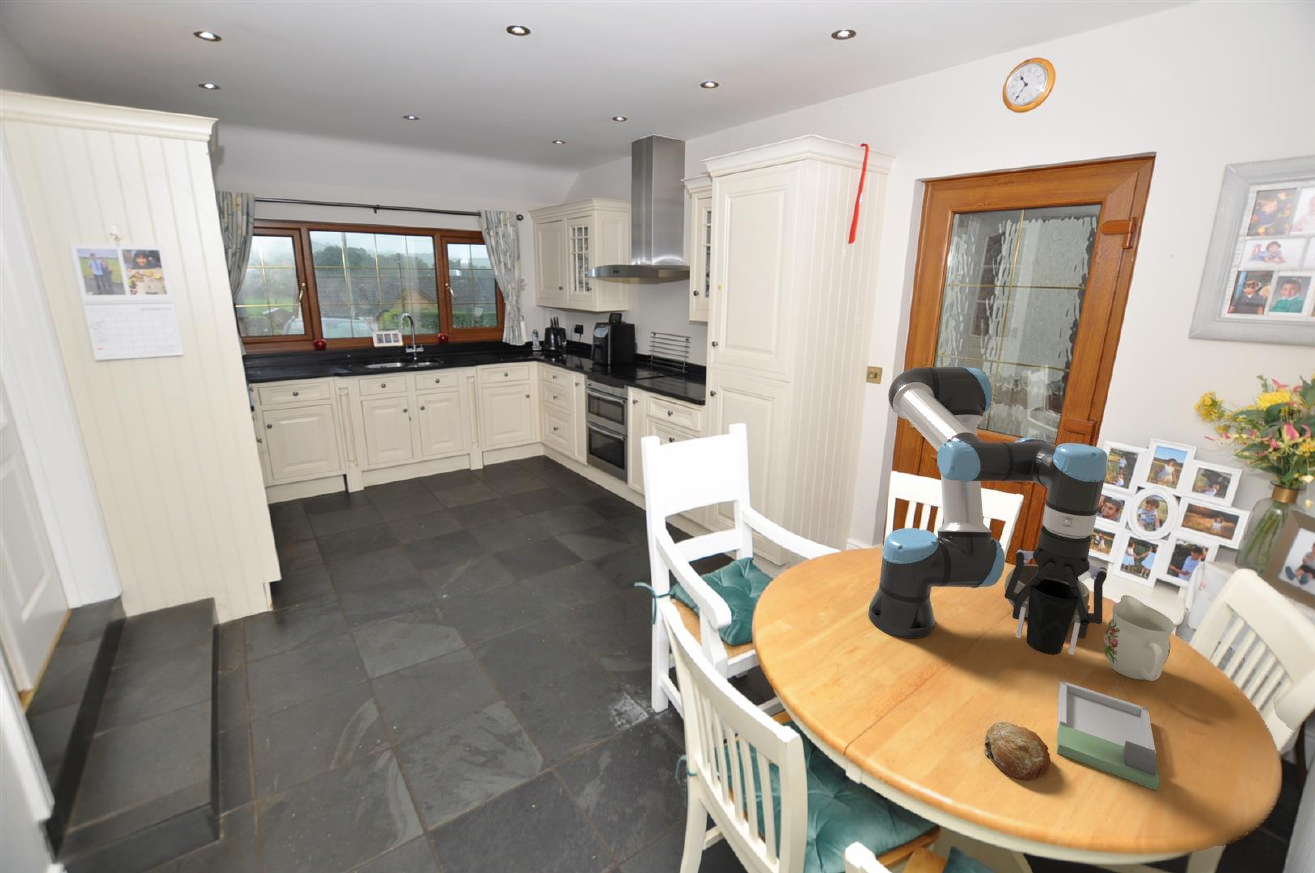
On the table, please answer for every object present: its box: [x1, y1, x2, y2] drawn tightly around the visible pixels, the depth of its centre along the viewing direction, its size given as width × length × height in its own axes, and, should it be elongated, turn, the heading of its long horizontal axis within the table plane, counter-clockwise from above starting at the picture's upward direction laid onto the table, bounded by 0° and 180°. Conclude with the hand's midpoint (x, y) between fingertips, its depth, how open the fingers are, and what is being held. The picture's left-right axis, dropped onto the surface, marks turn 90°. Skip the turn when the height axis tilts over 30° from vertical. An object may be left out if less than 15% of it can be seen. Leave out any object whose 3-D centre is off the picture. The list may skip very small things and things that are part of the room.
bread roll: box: [983, 721, 1051, 781], centre depth 103 cm, size 10×10×8 cm
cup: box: [1025, 579, 1079, 656], centre depth 108 cm, size 8×8×12 cm
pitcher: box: [1103, 594, 1176, 682], centre depth 124 cm, size 11×18×14 cm, turn 163°
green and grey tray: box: [1056, 680, 1161, 792], centre depth 108 cm, size 14×20×4 cm
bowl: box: [1004, 563, 1091, 624], centre depth 146 cm, size 17×18×10 cm
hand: (1044, 642), depth 109 cm, fingers closed on cup, 8 cm apart
